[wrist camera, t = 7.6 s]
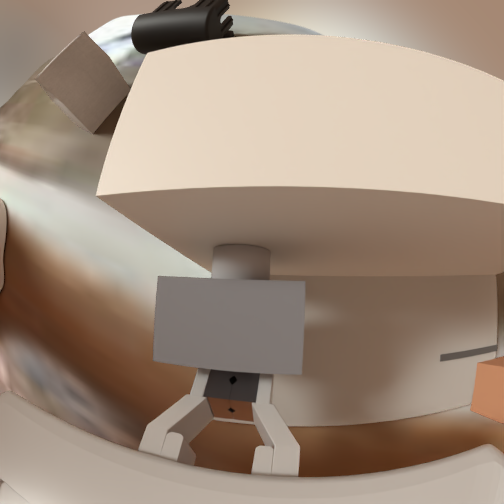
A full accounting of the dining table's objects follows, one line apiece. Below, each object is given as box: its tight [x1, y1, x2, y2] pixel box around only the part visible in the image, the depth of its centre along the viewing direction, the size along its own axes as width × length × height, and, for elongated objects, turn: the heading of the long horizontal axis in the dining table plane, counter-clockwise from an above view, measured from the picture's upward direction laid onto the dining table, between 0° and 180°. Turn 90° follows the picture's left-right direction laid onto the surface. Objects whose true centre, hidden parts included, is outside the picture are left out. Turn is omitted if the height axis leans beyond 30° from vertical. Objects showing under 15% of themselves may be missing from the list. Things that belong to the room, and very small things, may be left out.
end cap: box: [131, 0, 234, 54], centre depth 24 cm, size 10×7×7 cm
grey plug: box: [153, 244, 306, 375], centre depth 11 cm, size 4×5×5 cm
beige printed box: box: [35, 31, 131, 134], centre depth 22 cm, size 4×7×10 cm, turn 147°
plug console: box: [96, 35, 504, 426], centre depth 11 cm, size 16×22×14 cm
